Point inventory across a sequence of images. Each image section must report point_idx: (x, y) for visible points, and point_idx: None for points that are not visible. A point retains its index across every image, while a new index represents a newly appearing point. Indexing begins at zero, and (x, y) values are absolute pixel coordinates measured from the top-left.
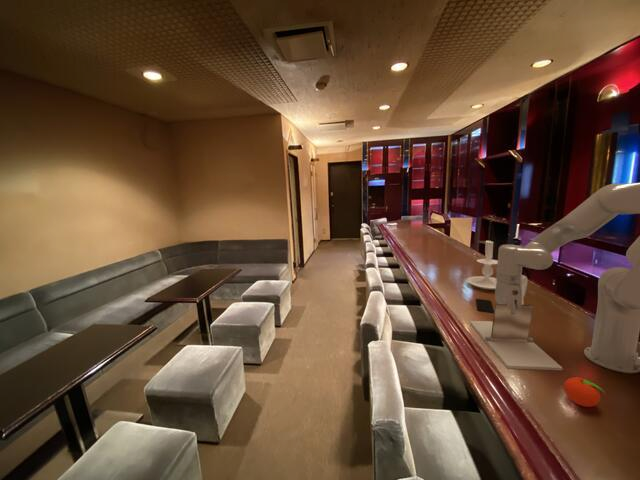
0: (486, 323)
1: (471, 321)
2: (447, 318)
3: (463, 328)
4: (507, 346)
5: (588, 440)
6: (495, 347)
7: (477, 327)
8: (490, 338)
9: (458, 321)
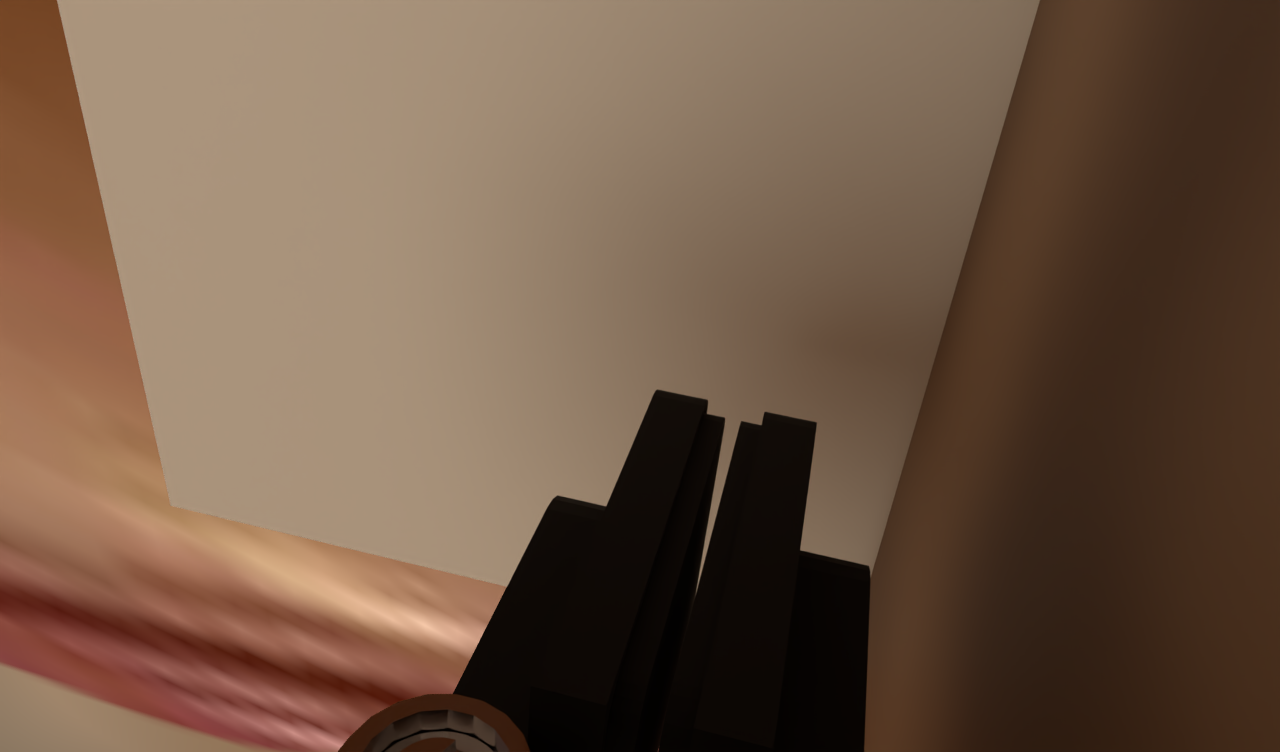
0: (211, 276)
1: (185, 491)
2: (113, 671)
3: (403, 656)
4: None
5: None
6: None
7: (407, 531)
8: None
9: (176, 594)
